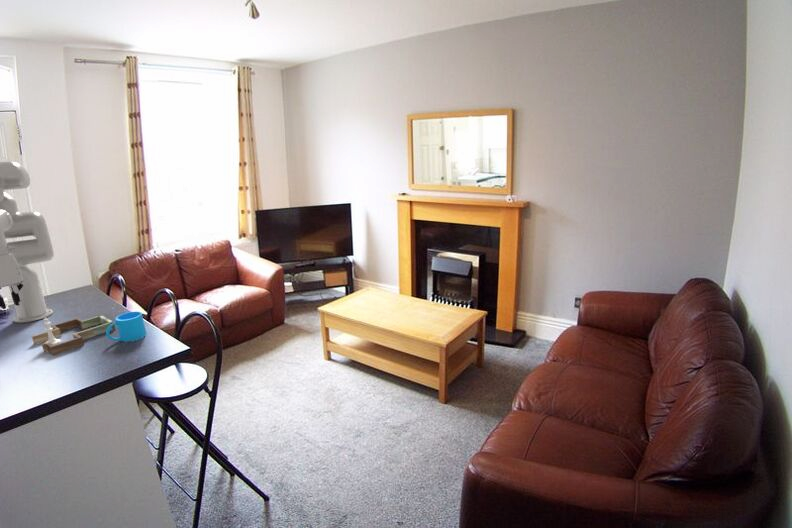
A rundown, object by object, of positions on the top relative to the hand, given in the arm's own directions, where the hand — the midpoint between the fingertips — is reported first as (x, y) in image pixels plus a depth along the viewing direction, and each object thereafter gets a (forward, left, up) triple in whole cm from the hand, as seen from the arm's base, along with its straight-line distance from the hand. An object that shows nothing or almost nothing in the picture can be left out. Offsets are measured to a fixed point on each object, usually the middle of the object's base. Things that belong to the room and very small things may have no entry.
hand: (10, 305), depth 145 cm
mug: (+19, +25, -17) cm, 36 cm away
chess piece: (0, +8, -17) cm, 19 cm away
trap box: (0, +14, -17) cm, 22 cm away
